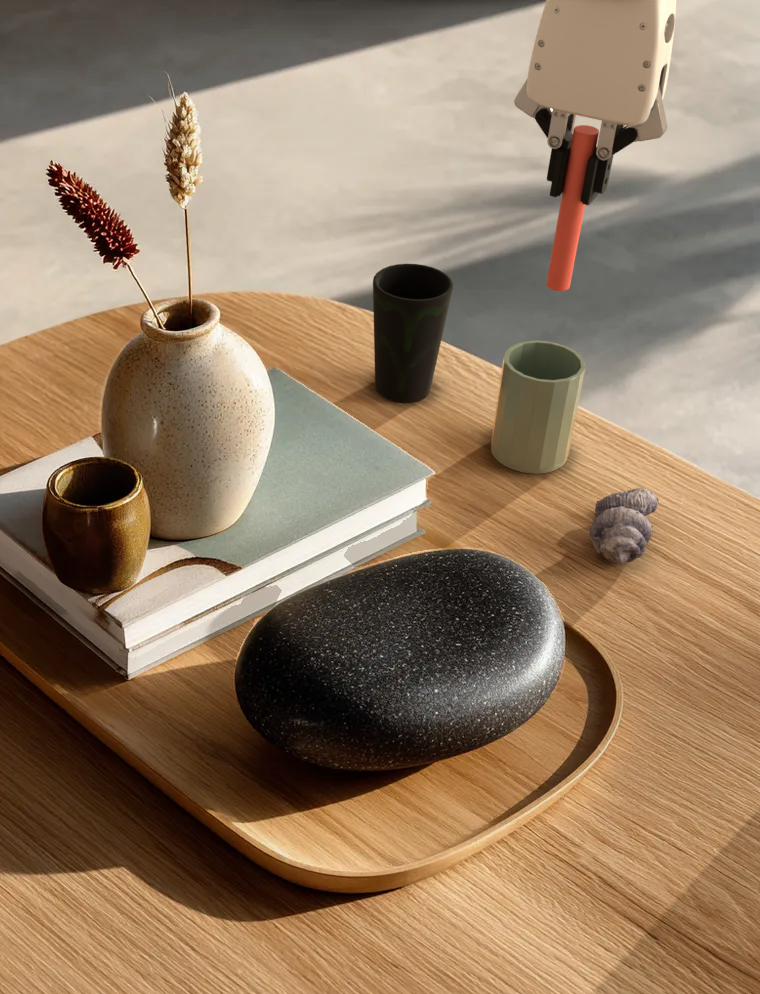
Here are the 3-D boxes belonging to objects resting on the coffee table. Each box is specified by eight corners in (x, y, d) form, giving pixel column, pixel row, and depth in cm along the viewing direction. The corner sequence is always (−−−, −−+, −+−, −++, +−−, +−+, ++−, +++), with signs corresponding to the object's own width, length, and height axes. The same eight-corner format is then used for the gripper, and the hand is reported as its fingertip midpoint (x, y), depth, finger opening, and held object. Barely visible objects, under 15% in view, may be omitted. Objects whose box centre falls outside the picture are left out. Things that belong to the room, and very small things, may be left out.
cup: (403, 360, 139) (413, 255, 132) (456, 391, 135) (470, 285, 127) (349, 384, 135) (356, 278, 128) (401, 417, 131) (412, 309, 123)
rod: (572, 284, 115) (602, 128, 107) (565, 293, 114) (594, 136, 105) (550, 278, 116) (578, 123, 108) (542, 287, 115) (570, 131, 106)
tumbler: (577, 444, 127) (595, 353, 121) (552, 482, 122) (569, 390, 116) (507, 422, 130) (521, 333, 124) (479, 458, 125) (492, 367, 119)
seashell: (612, 519, 120) (610, 593, 112) (582, 477, 118) (578, 549, 110) (667, 498, 117) (669, 572, 110) (638, 454, 115) (638, 526, 108)
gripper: (737, -31, 98) (682, 201, 110) (532, -66, 104) (500, 158, 116) (711, -5, 93) (656, 235, 104) (497, -43, 99) (467, 189, 110)
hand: (574, 193), depth 110 cm, fingers closed on rod, 2 cm apart
